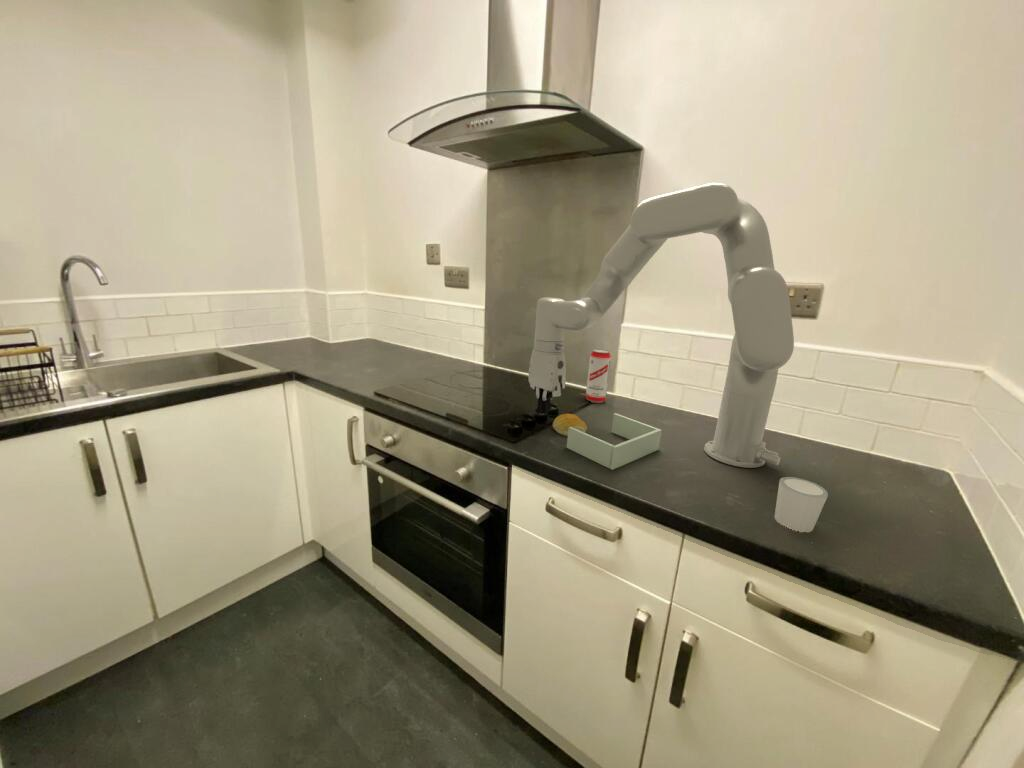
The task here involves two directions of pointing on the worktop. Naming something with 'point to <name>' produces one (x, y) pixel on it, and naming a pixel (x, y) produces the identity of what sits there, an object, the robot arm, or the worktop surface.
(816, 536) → the worktop surface
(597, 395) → the beer can
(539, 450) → the worktop surface
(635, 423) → the box
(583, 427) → the bread roll
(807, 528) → the white cup
